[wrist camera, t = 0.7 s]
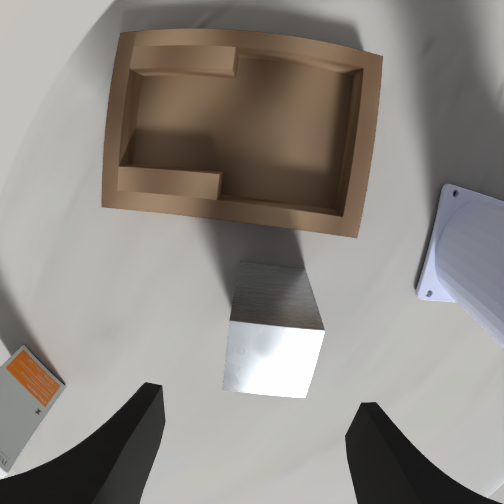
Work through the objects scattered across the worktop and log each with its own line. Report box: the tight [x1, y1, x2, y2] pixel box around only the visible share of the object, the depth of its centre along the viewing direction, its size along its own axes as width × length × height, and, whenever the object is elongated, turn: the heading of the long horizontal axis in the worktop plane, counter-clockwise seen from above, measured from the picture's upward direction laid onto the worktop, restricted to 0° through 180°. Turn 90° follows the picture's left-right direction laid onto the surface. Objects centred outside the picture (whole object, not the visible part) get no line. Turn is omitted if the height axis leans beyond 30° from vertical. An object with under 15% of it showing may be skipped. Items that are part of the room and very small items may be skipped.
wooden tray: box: [102, 29, 383, 238], centre depth 16 cm, size 14×10×2 cm
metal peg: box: [223, 261, 325, 397], centre depth 17 cm, size 4×4×7 cm
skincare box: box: [0, 345, 66, 479], centre depth 18 cm, size 6×4×12 cm
